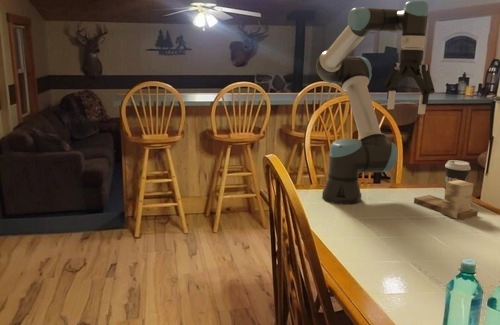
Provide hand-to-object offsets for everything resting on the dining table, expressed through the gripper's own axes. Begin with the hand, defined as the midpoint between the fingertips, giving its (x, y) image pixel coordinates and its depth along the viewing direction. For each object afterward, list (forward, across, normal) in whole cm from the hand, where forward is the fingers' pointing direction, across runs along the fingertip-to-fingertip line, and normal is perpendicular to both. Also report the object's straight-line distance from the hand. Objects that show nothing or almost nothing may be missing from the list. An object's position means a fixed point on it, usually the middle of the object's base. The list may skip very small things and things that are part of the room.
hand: (405, 111), depth 164 cm
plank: (+37, +7, +19) cm, 42 cm away
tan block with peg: (+36, +13, +18) cm, 43 cm away
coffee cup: (+37, 0, +34) cm, 50 cm away
